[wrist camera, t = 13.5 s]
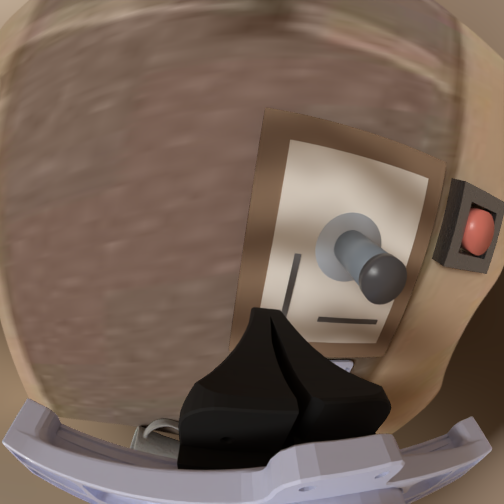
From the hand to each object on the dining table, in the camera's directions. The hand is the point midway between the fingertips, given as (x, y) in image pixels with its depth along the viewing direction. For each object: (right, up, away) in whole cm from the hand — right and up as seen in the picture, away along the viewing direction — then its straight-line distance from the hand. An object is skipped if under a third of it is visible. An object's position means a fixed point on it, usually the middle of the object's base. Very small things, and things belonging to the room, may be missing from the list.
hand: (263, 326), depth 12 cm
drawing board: (+7, +3, +9) cm, 12 cm away
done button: (+21, +6, +8) cm, 24 cm away
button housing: (+21, +6, +8) cm, 24 cm away
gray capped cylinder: (+7, +4, +7) cm, 11 cm away
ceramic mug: (-13, -22, +18) cm, 31 cm away
